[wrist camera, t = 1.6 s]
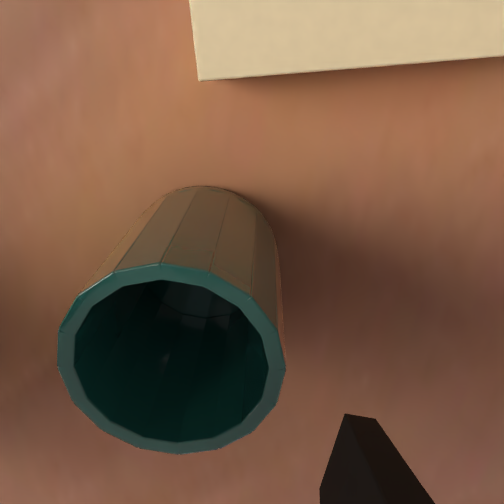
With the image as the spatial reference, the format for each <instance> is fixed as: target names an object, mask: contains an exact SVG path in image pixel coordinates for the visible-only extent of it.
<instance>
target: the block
mask: <svg viewBox="0 0 504 504" xmlns="http://www.w3.org/2000/svg"><path fill="white" fill-rule="evenodd" d="M189 5H190V13H191V22H192V31H193V39H194V48H195V57H196V65H197V74H198V80H199V81H211V80H223V79H235V78H247V77H259V76H272V75H284V74H296V73H308V72H320V71H332V70H344V69H356V68H369V67H381V66H393V65H405V64H417V63H429V62H441V61H454V60H466V59H478V58H490V57H502V56H504V0H189Z"/></svg>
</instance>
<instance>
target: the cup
mask: <svg viewBox="0 0 504 504" xmlns="http://www.w3.org/2000/svg"><path fill="white" fill-rule="evenodd" d="M57 367H58V371H59V373H60V375H61V377H62V379H63V382H64V384H65V386H66V388H67V391H68V393H69V395H70V397H71V400H72V401H73V402H74V404H75V405H76V406H77V407H78V408H79V409H80V410H81V411H82V412H83V413H84V414H85V415H86V416H87V417H88V418H89V419H90V420H91V421H92V422H93V423H94V424H95V425H96V426H97V427H98V428H100V429H102V431H104V432H106V433H108V434H110V435H112V436H114V437H116V438H118V439H120V440H122V441H124V442H126V443H128V444H130V445H133V446H135V447H137V448H138V447H139V448H140V449H145V450H152V451H158V452H164V453H170V454H176V455H178V454H180V455H182V454H189V453H196V452H203V451H211V450H217V449H218V448H219V449H220V448H222V447H224V446H226V445H228V444H230V443H232V442H234V441H236V440H238V439H240V438H242V437H244V436H246V435H248V434H250V433H252V431H254V430H255V429H256V428H257V427H258V425H259V424H260V423H261V422H262V421H263V420H264V418H265V417H266V416H267V415H268V414H269V413H270V411H271V410H272V409H273V408H274V407H275V406H276V403H277V402H278V399H279V395H280V391H281V387H282V383H283V380H284V376H285V372H286V357H285V341H284V326H283V310H282V295H281V279H280V264H279V257H278V251H277V244H276V240H275V237H274V234H273V231H272V229H271V227H270V225H269V224H268V222H267V220H266V219H265V217H264V216H263V215H262V214H261V212H260V211H259V210H258V209H257V208H256V207H255V206H254V205H252V204H251V203H250V202H248V201H247V200H246V199H244V198H242V197H241V196H239V195H237V194H235V193H233V192H230V191H228V190H224V189H221V188H217V187H209V186H193V187H186V188H182V189H179V190H176V191H173V192H171V193H168V194H167V195H165V196H163V197H162V198H160V199H158V200H157V201H156V202H155V203H154V204H152V205H151V206H150V207H149V208H148V209H147V210H145V212H143V214H142V215H141V216H140V217H139V219H138V220H137V221H136V222H135V224H134V225H133V226H132V227H131V229H130V230H129V231H128V232H127V234H126V235H125V236H124V237H123V239H122V240H121V241H120V242H119V244H118V245H117V246H116V247H115V249H114V250H113V251H112V252H111V254H110V255H109V256H108V257H107V259H106V260H105V261H104V262H103V264H102V265H101V266H100V267H99V269H98V270H97V271H96V272H95V274H94V275H93V276H92V277H91V279H90V280H89V281H88V282H87V284H86V285H85V286H84V287H83V289H82V290H81V291H80V292H79V294H78V295H77V296H76V298H75V300H74V301H73V303H72V305H71V307H70V308H69V310H68V312H67V314H66V316H65V317H64V319H63V321H62V323H61V324H60V326H59V330H58V348H57Z"/></svg>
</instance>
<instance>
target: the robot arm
mask: <svg viewBox="0 0 504 504" xmlns="http://www.w3.org/2000/svg"><path fill="white" fill-rule="evenodd" d="M320 504H435V503H434V501H433V500H432V499H431V497H430V496H429V495H428V493H427V492H426V490H425V489H424V488H423V486H422V485H421V483H420V482H419V481H418V479H417V478H416V476H415V475H414V473H413V472H412V471H411V469H410V468H409V466H408V465H407V463H406V462H405V461H404V459H403V458H402V456H401V455H400V453H399V452H398V450H397V449H396V448H395V446H394V445H393V443H392V442H391V440H390V439H389V437H388V436H387V435H386V433H385V432H384V430H383V429H382V427H381V426H380V425H379V423H378V422H377V420H376V419H374V418H368V417H362V416H356V415H350V414H344V417H343V420H342V423H341V426H340V429H339V432H338V435H337V438H336V441H335V444H334V447H333V450H332V453H331V456H330V459H329V462H328V465H327V468H326V471H325V474H324V477H323V480H322V483H321V486H320Z"/></svg>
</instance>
